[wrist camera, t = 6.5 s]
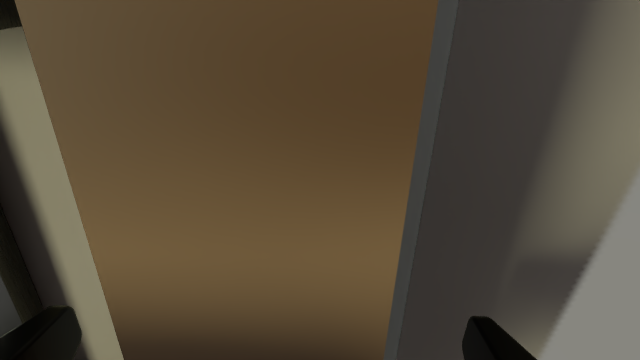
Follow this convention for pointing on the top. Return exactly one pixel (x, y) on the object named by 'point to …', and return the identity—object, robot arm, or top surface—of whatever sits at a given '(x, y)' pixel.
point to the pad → (421, 165)
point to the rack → (13, 243)
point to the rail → (239, 165)
